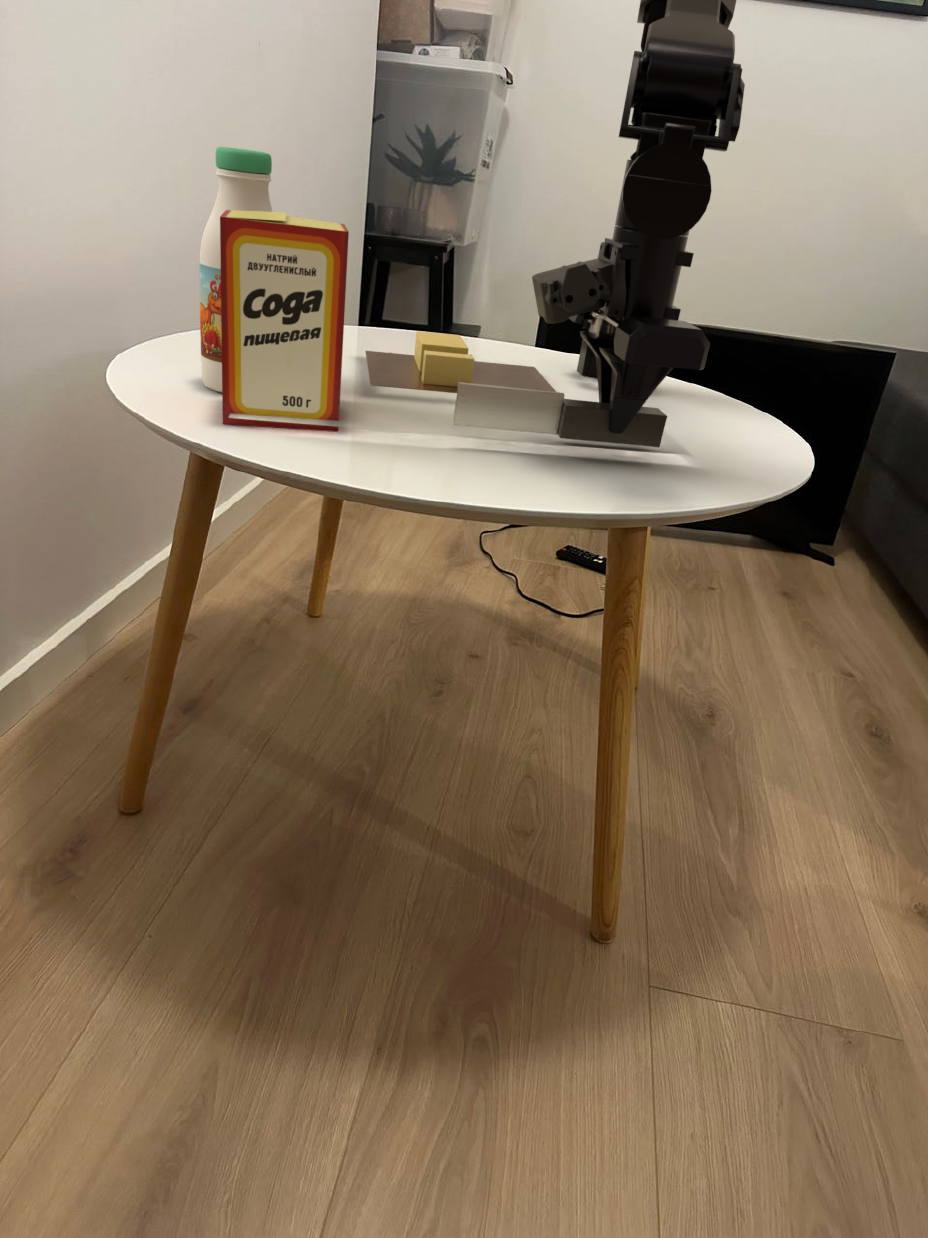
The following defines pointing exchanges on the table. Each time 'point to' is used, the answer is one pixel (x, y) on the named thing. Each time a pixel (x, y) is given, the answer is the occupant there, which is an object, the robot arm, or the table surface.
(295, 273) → the baking soda box
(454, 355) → the butter slice
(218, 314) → the milk bottle
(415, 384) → the board
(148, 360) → the table surface
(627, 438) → the knife
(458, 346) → the butter
